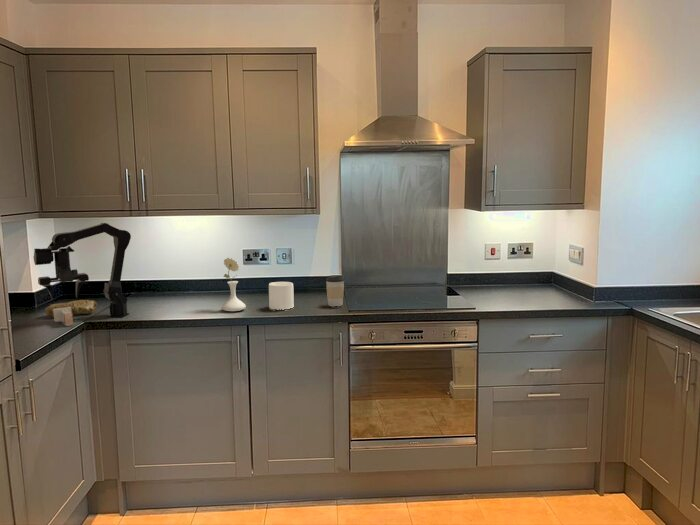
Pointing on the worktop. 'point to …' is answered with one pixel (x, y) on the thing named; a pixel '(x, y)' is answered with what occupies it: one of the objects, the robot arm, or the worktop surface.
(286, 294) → the cup
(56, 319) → the tongs pivot
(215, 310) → the worktop surface
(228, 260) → the flower in vase
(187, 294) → the worktop surface
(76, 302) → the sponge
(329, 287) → the coffee cup
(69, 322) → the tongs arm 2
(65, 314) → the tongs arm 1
